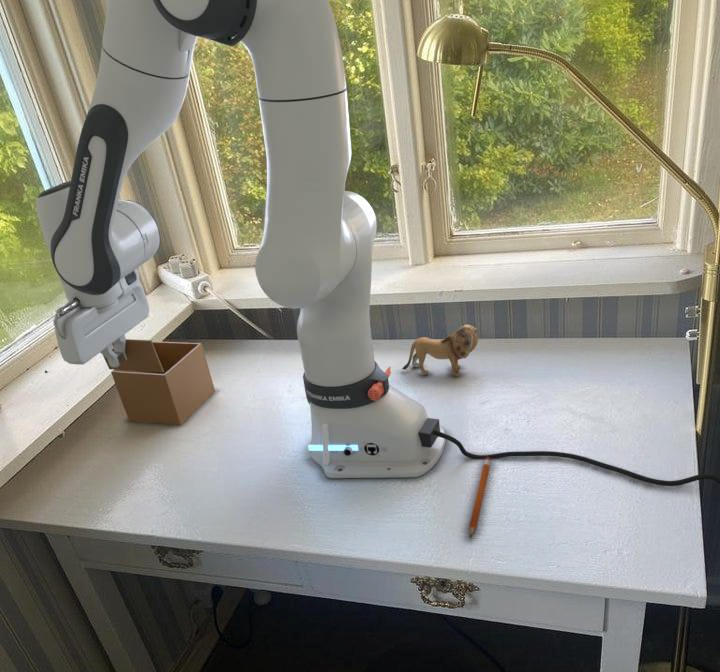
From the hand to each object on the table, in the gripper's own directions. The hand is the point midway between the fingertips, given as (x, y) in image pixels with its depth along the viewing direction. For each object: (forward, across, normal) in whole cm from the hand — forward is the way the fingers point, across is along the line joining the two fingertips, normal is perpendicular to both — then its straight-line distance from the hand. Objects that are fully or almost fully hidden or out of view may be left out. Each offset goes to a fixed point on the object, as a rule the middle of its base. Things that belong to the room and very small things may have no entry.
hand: (119, 363), depth 126 cm
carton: (+14, +10, -1) cm, 17 cm away
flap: (0, +3, 0) cm, 3 cm away
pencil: (+14, -9, -65) cm, 67 cm away
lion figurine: (+14, +29, -50) cm, 59 cm away
